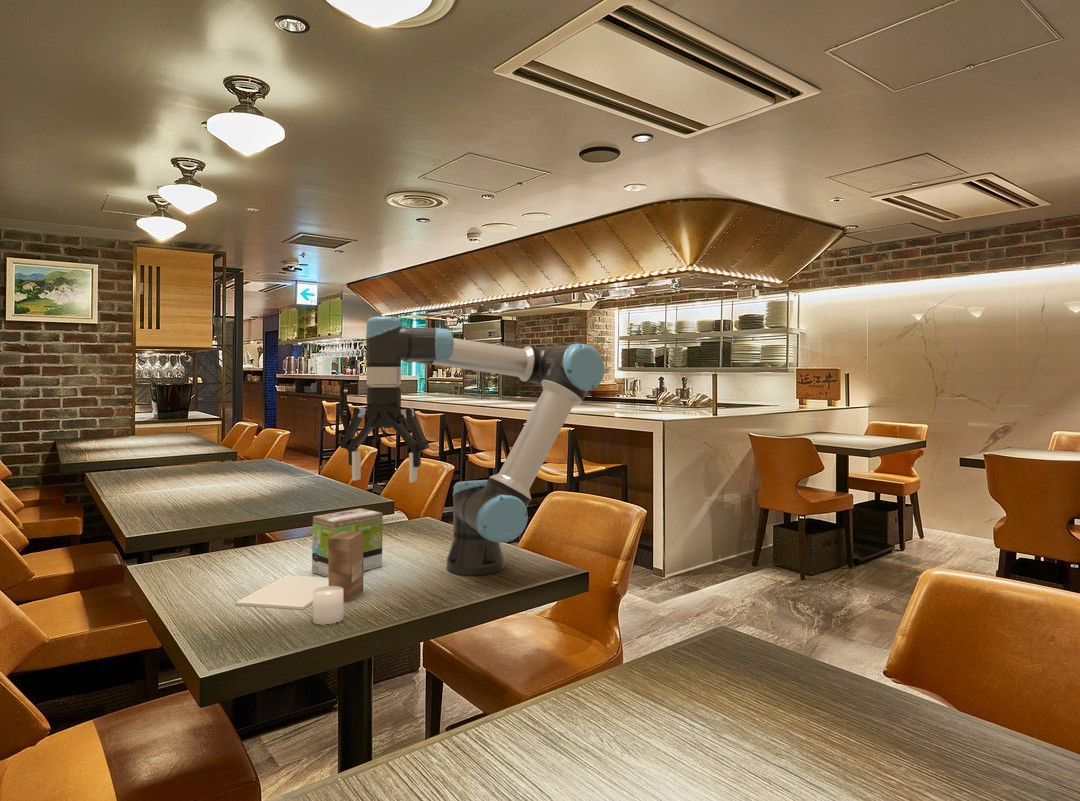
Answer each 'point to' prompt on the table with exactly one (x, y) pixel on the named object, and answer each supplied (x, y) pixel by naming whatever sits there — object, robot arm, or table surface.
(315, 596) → the white pillar candle
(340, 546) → the wooden block
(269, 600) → the felt mat
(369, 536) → the tea box
